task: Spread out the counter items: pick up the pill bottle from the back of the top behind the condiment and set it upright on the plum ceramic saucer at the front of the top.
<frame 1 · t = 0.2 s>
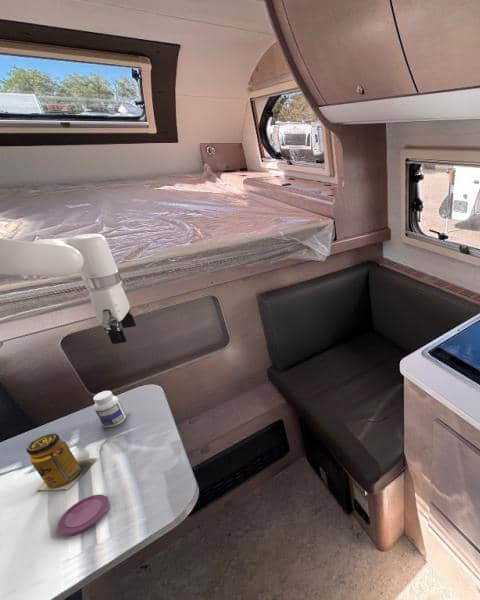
hand: (125, 334, 95), 23 cm above the table, tool pointing down, fingers open, 9 cm apart
condiment: (69, 474, 80), on the table
saucer: (85, 515, 71), on the table
pill bottle: (115, 421, 95), on the table
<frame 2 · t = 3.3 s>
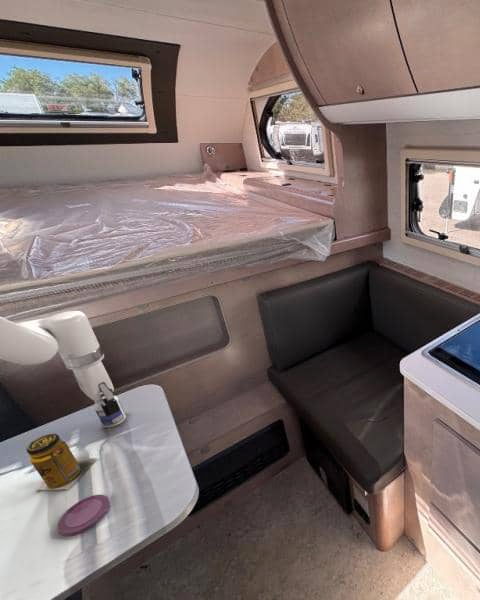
hand: (108, 408, 93), 5 cm above the table, tool pointing down, fingers closed on pill bottle, 5 cm apart
pill bottle: (115, 421, 95), on the table, touching gripper
everything else where it was.
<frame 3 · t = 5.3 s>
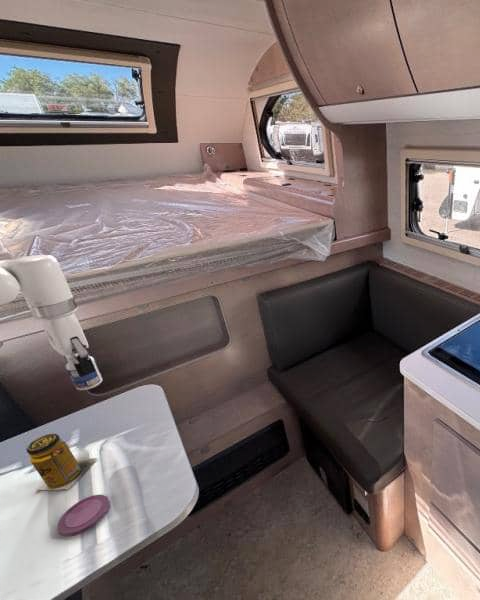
hand: (82, 369, 84), 20 cm above the table, tool pointing down, fingers closed on pill bottle, 5 cm apart
pill bottle: (90, 384, 86), point 15 cm above the table, touching gripper
everything else where it was.
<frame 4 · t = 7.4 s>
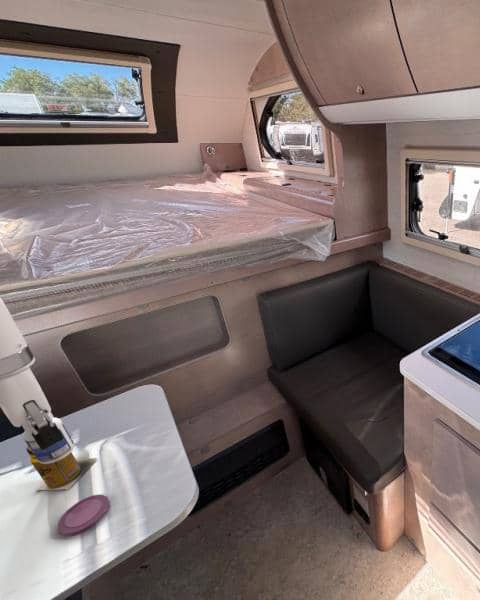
hand: (46, 436, 64), 21 cm above the table, tool pointing down, fingers closed on pill bottle, 5 cm apart
pill bottle: (58, 454, 66), point 16 cm above the table, touching gripper
everything else where it was.
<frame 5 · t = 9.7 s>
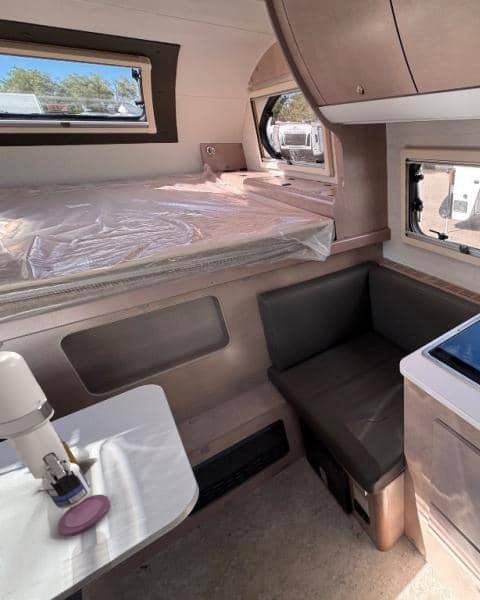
hand: (64, 482, 66), 11 cm above the table, tool pointing down, fingers closed on pill bottle, 5 cm apart
pill bottle: (75, 498, 68), point 6 cm above the table, touching gripper
everything else where it was.
when the fingers open (6 cm above the table, at t = 11.4 s): pill bottle stays where it is, resting on saucer.
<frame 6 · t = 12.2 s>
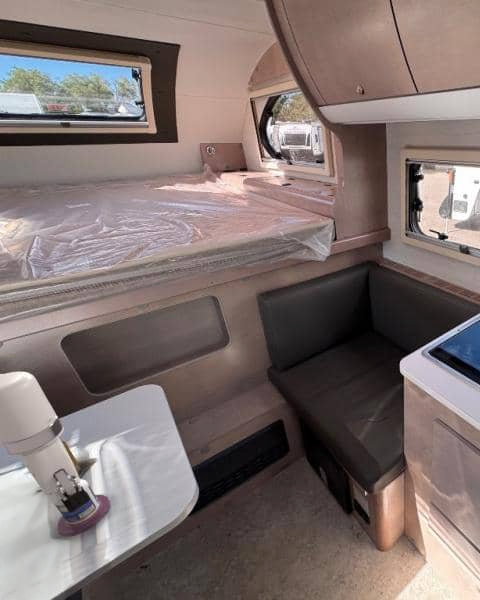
hand: (71, 493, 68), 7 cm above the table, tool pointing down, fingers open, 9 cm apart
pill bottle: (84, 513, 70), point 1 cm above the table, touching saucer
everything else where it was.
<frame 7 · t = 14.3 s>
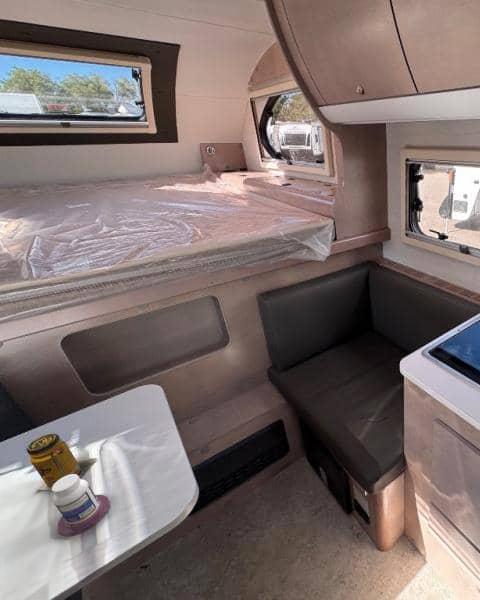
nothing on the table moved.
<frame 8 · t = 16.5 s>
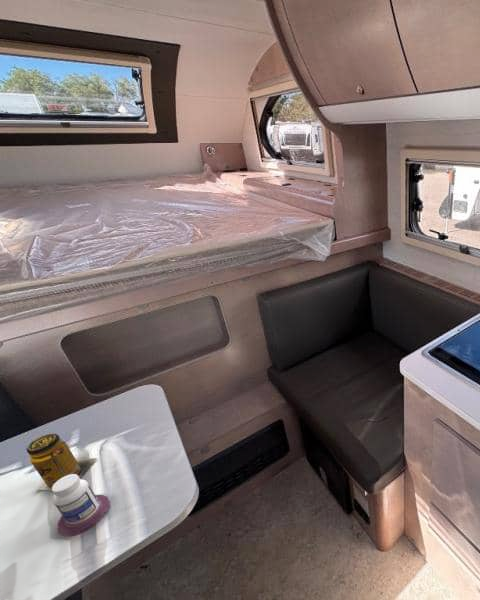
nothing on the table moved.
at the end: pill bottle 0.0 cm off-centre on the saucer, point 0.7 cm above the saucer's base; pill bottle tilted 0°; condiment moved 0.2 cm from its start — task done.
